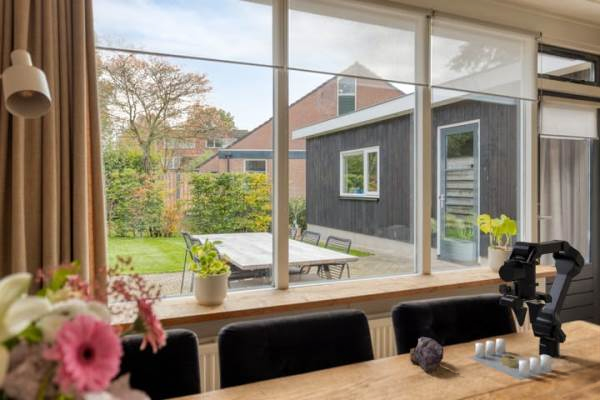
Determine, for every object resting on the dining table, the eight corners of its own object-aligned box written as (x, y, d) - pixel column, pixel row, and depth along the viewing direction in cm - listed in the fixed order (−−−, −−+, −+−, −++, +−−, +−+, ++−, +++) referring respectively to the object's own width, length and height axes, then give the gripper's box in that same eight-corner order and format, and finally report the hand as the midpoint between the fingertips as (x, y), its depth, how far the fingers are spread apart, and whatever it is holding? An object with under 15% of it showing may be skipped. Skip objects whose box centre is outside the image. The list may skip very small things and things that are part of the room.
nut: (508, 360, 143) (508, 353, 143) (521, 366, 138) (521, 358, 138) (498, 362, 141) (498, 355, 141) (512, 368, 137) (512, 360, 137)
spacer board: (501, 352, 153) (501, 337, 153) (554, 373, 135) (554, 356, 135) (468, 360, 146) (468, 344, 146) (519, 383, 128) (519, 365, 128)
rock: (420, 377, 136) (450, 374, 137) (421, 353, 134) (451, 350, 135) (406, 358, 147) (433, 355, 148) (407, 335, 146) (434, 333, 147)
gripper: (523, 272, 154) (523, 315, 154) (486, 277, 146) (486, 322, 146) (553, 278, 144) (553, 323, 144) (515, 283, 136) (515, 331, 136)
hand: (526, 325), depth 143 cm, fingers open, 5 cm apart
